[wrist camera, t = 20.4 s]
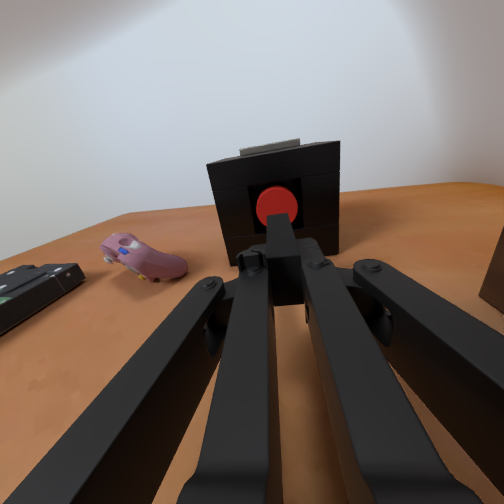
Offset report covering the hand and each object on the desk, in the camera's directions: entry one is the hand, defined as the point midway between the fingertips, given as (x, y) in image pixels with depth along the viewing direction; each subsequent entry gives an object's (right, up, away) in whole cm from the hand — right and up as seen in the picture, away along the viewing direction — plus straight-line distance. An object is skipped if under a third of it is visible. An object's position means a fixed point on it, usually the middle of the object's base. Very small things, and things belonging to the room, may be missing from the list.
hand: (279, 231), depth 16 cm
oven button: (+1, +1, +7) cm, 7 cm away
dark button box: (+2, 0, +12) cm, 13 cm away
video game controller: (-14, -4, +10) cm, 18 cm away
